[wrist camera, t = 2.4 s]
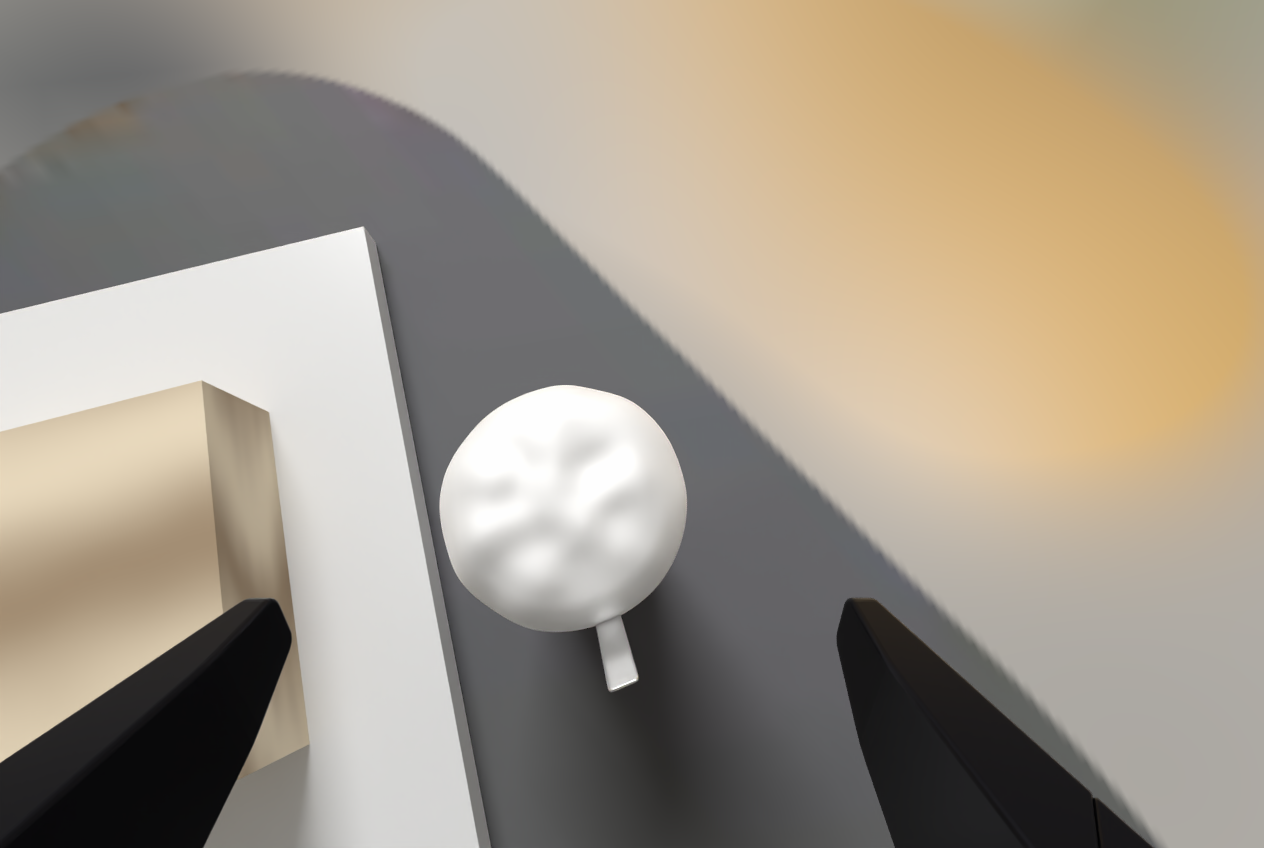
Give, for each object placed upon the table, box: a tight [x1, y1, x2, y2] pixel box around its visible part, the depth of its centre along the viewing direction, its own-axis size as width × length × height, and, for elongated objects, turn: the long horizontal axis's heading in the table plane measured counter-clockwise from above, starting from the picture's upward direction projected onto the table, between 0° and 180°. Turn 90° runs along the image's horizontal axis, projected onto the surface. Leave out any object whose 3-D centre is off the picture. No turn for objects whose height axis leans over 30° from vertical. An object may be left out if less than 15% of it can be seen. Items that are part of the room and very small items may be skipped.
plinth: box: [0, 380, 310, 780], centre depth 15 cm, size 10×10×3 cm
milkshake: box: [440, 385, 687, 692], centre depth 13 cm, size 5×5×10 cm
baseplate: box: [0, 227, 491, 848], centre depth 17 cm, size 22×18×1 cm
